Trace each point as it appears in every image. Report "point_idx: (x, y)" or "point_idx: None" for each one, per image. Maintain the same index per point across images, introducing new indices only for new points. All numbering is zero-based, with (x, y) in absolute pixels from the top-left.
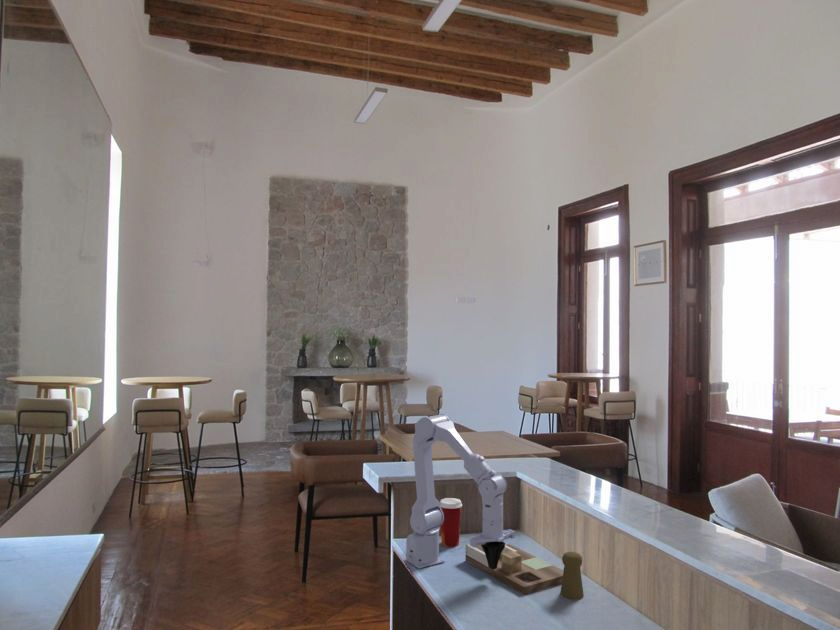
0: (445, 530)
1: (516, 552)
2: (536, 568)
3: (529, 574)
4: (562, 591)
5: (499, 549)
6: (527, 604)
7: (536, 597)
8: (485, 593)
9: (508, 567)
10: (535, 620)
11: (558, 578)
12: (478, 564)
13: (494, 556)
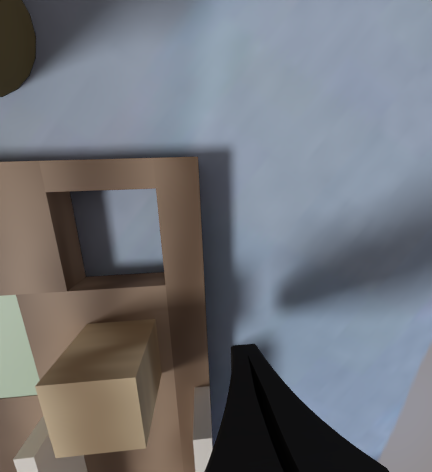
0: None
1: (25, 449)
2: (4, 305)
3: (72, 279)
4: (12, 32)
5: (265, 462)
6: (246, 73)
7: (164, 109)
8: (322, 247)
9: (153, 345)
10: None
11: None
12: None
13: (284, 404)
